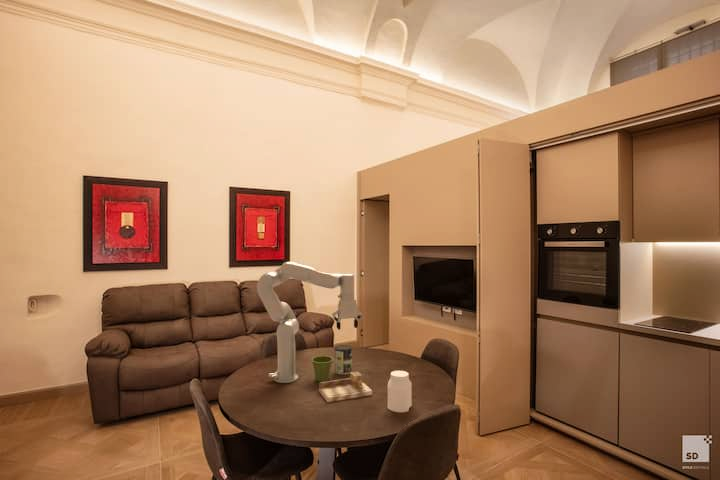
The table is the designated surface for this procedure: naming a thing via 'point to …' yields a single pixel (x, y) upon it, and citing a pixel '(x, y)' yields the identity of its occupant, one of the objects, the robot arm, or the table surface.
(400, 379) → the jar
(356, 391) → the board
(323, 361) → the plant pot
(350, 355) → the coffee can
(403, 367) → the table surface
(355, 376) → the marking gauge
